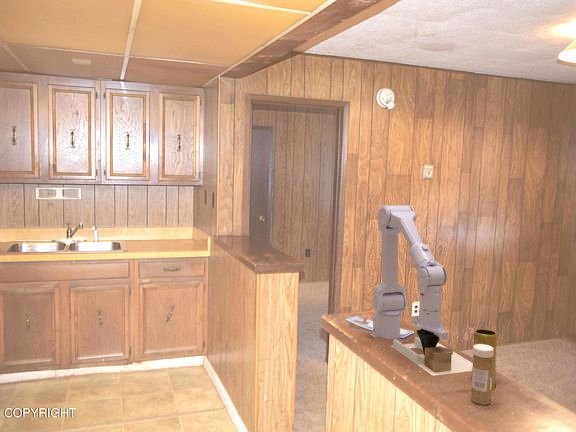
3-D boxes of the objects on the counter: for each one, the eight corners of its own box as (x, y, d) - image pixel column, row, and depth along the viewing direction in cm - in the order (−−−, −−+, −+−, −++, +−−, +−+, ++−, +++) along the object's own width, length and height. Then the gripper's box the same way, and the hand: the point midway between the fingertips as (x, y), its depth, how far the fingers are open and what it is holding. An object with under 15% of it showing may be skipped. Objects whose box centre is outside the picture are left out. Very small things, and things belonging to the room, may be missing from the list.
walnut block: (424, 365, 139) (425, 347, 139) (440, 363, 141) (441, 346, 140) (434, 372, 135) (435, 354, 134) (450, 370, 136) (451, 352, 135)
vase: (465, 382, 132) (467, 329, 130) (484, 379, 134) (486, 327, 133) (482, 392, 126) (484, 337, 125) (501, 389, 128) (504, 334, 127)
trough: (393, 347, 153) (393, 339, 153) (416, 344, 155) (416, 337, 155) (416, 364, 140) (416, 355, 140) (441, 361, 142) (442, 352, 142)
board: (390, 350, 155) (390, 345, 154) (435, 345, 159) (435, 341, 159) (432, 381, 133) (432, 375, 132) (482, 374, 137) (483, 369, 137)
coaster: (427, 349, 151) (427, 348, 151) (445, 347, 153) (445, 346, 153) (438, 357, 146) (439, 355, 145) (457, 354, 147) (457, 353, 147)
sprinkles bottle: (495, 402, 121) (497, 347, 120) (483, 407, 118) (485, 351, 117) (478, 395, 125) (481, 342, 123) (466, 399, 122) (469, 345, 121)
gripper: (404, 302, 146) (402, 348, 147) (432, 317, 132) (430, 367, 134) (425, 301, 148) (424, 346, 149) (455, 315, 134) (453, 364, 136)
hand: (428, 356), depth 142 cm, fingers closed
